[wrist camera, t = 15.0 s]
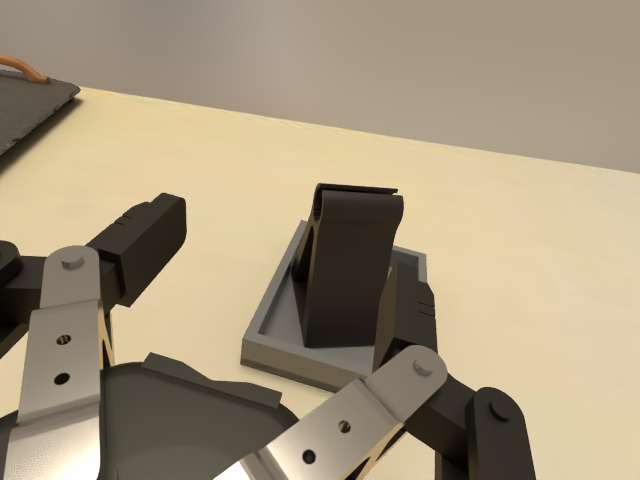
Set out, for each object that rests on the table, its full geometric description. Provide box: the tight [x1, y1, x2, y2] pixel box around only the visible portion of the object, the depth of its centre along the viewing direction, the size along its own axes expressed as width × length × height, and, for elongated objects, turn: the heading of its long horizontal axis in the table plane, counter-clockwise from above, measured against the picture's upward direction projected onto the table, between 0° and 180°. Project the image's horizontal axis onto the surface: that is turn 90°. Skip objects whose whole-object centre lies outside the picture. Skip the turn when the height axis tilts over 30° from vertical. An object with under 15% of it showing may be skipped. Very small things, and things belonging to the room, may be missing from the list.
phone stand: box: [291, 183, 404, 347], centre depth 30 cm, size 9×6×12 cm, turn 11°
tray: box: [240, 220, 427, 393], centre depth 33 cm, size 14×17×3 cm
